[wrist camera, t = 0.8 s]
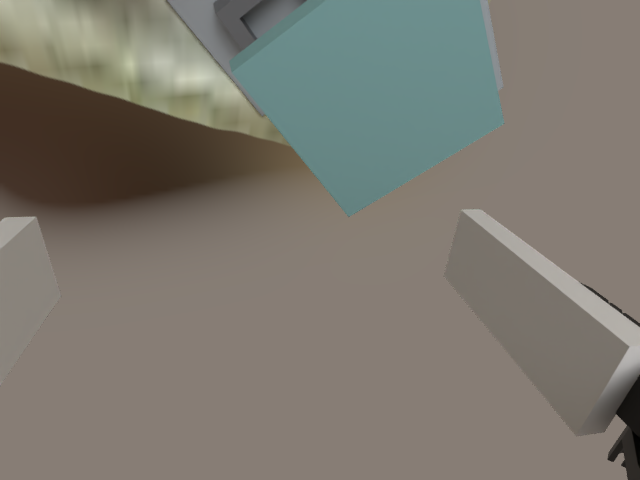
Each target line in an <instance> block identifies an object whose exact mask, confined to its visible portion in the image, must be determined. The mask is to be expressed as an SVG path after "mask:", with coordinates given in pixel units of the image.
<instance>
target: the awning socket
mask: <svg viewBox="0 0 640 480" xmlns="http://www.w3.org/2000/svg"><path fill="white" fill-rule="evenodd" d="M167 1H168V2H169V3H170V5H171V6H172V7H173V8H174V10H175V11H176V12H177V13H178V14H179V16H180V17H181V18H182V19H183V20H184V22H185V23H186V24H187V25H188V27H189V28H190V29H191V30H192V31H193V33H194V34H195V35H196V36H197V37H198V39H199V40H200V41H201V42H202V44H203V45H204V46H205V47H206V48H207V50H208V51H209V52H210V53H211V55H212V56H213V57H214V58H215V59H216V61H217V62H218V63H219V64H220V65H221V67H222V68H223V69H224V70H225V72H226V73H227V74H228V75H229V76H230V78H231V79H232V80H233V81H234V82H235V84H236V85H237V86H238V87H239V89H240V90H241V91H242V92H243V93H244V95H245V96H246V97H247V98H248V100H249V101H250V102H251V103H252V104H253V106H254V107H255V108H256V109H257V110H258V112H259V113H260V114H261V115H262V116H263V115H264V114H266V116H267V117H268V118H269V119H270V120H271V122H272V123H273V124H274V125H275V127H276V128H277V129H278V130H279V132H280V133H281V134H282V135H283V137H284V138H285V139H286V140H287V141H288V143H289V144H290V145H291V146H292V148H293V149H294V150H295V151H296V153H297V154H298V155H299V156H300V158H301V159H302V160H303V161H304V162H305V164H306V165H307V166H308V167H309V169H310V170H311V171H312V172H313V174H314V175H315V176H316V177H317V179H318V180H319V181H320V182H321V183H322V185H323V186H324V187H325V188H326V189H327V191H328V192H329V193H330V194H331V196H332V197H333V198H334V199H335V201H336V202H337V203H338V204H339V206H340V207H341V208H342V209H343V210H344V212H345V213H346V214H347V216H349V217H350V216H351V215H353V214H355V213H356V212H358V211H360V210H361V209H363V208H364V207H366V206H368V205H370V204H371V203H373V202H374V201H376V200H378V199H380V198H381V197H383V196H385V195H386V194H388V193H390V192H391V191H393V190H395V189H396V188H398V187H399V186H401V185H403V184H405V183H406V182H408V181H409V180H411V179H413V178H415V177H416V176H418V175H420V174H421V173H423V172H424V171H426V170H428V169H430V168H431V167H433V166H435V165H436V164H438V163H439V162H441V161H443V160H444V159H446V158H448V157H449V156H451V155H453V154H454V153H456V152H458V151H459V150H461V149H463V148H464V147H466V146H468V145H469V144H471V143H473V142H474V141H476V140H478V139H479V138H481V137H483V136H484V135H486V134H488V133H489V132H491V131H493V130H494V129H496V128H498V127H499V126H501V125H502V124H504V120H503V115H502V110H501V104H500V99H499V94H498V90H500V89H501V88H503V82H502V77H501V71H500V66H499V60H498V55H497V50H496V44H495V39H494V34H493V28H492V23H491V17H490V11H489V6H488V0H167Z"/></svg>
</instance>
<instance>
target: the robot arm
mask: <svg viewBox="0 0 640 480" xmlns="http://www.w3.org/2000/svg"><path fill="white" fill-rule="evenodd" d="M444 277H445V278H446V280H447V281H448V282H449V283H450V284H451V286H452V287H453V288H454V289H455V290H456V292H457V293H458V294H459V295H460V297H461V298H462V299H463V300H464V301H465V303H466V304H467V305H468V306H469V307H470V309H471V310H472V311H473V312H474V313H475V315H476V316H477V317H478V318H479V319H480V321H481V322H482V323H483V324H484V326H485V327H486V328H487V329H488V330H489V332H490V333H491V334H492V335H493V336H494V338H495V339H496V340H497V341H498V342H499V344H500V345H501V346H502V347H503V348H504V350H505V351H506V352H507V353H508V354H509V356H510V357H511V358H512V359H513V361H514V362H515V363H516V364H517V365H518V367H519V368H520V369H521V370H522V371H523V373H524V374H525V375H526V376H527V377H528V379H529V380H530V381H531V382H532V383H533V384H534V386H535V387H536V388H537V390H538V391H539V392H540V393H541V394H542V396H543V397H544V398H545V399H546V400H547V402H548V403H549V404H550V405H551V406H552V408H553V409H554V410H555V411H556V412H557V414H558V415H559V416H560V417H561V419H562V420H563V421H564V422H565V423H566V425H567V426H568V427H569V428H570V429H571V431H572V432H573V433H574V434H575V435H576V436H582V435H589V434H596V433H602V432H605V430H606V429H607V427H608V426H609V424H610V423H611V421H612V419H613V418H614V416H615V415H616V414H617V415H618V416H619V417H620V418H621V419H622V420H623V421H624V422H625V423H626V424H627V427H626V428H625V429H624V431H623V432H622V434H621V435H620V437H619V438H618V440H617V441H616V443H615V444H614V446H613V447H612V449H611V450H610V452H609V454H608V460H610V461H612V462H614V460H615V459H616V457H617V456H618V454H619V453H624V457H625V460H624V461H623V463H622V464H621V466H623V467H625V468H626V471H627V477H628V480H640V323H638V322H637V321H636V320H634V319H633V318H632V317H630V316H629V315H627V314H626V313H622V310H621V309H619V308H618V307H617V306H615V305H613V304H612V303H609V302H608V300H607V299H606V298H604V297H603V296H601V295H600V294H599V293H597V292H596V291H595V290H593V289H592V288H590V287H588V286H586V285H584V284H582V283H580V282H578V281H577V280H575V279H574V278H573V277H571V276H570V275H568V274H567V273H566V272H564V271H563V270H562V269H560V268H559V267H558V266H556V265H555V264H554V263H552V262H551V261H550V260H548V259H547V258H546V257H544V256H543V255H542V254H540V253H539V252H537V251H536V250H535V249H533V248H532V247H531V246H529V245H528V244H527V243H525V242H524V241H523V240H521V239H520V238H519V237H517V236H516V235H514V234H513V233H512V232H511V231H509V230H508V229H506V228H505V227H504V226H502V225H501V224H500V223H498V222H497V221H496V220H494V219H493V218H492V217H490V216H489V215H488V214H486V213H485V212H484V211H482V210H480V209H475V210H473V209H472V210H461V211H460V214H459V219H458V222H457V227H456V230H455V234H454V238H453V242H452V246H451V250H450V253H449V257H448V261H447V265H446V269H445V273H444ZM60 297H61V293H60V290H59V286H58V284H57V280H56V277H55V274H54V271H53V268H52V265H51V261H50V258H49V255H48V252H47V249H46V246H45V243H44V239H43V236H42V233H41V230H40V227H39V224H38V221H37V217H6V218H4V219H3V220H1V221H0V385H1V384H2V383H3V381H4V380H5V378H6V377H7V375H8V374H9V372H10V371H11V369H12V368H13V366H14V365H15V363H16V362H17V360H18V359H19V358H20V356H21V355H22V353H23V352H24V350H25V349H26V347H27V346H28V344H29V343H30V341H31V340H32V339H33V337H34V336H35V334H36V333H37V331H38V330H39V328H40V327H41V325H42V324H43V322H44V321H45V320H46V318H47V317H48V315H49V314H50V312H51V311H52V309H53V308H54V306H55V305H56V303H57V302H58V300H59V299H60Z"/></svg>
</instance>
